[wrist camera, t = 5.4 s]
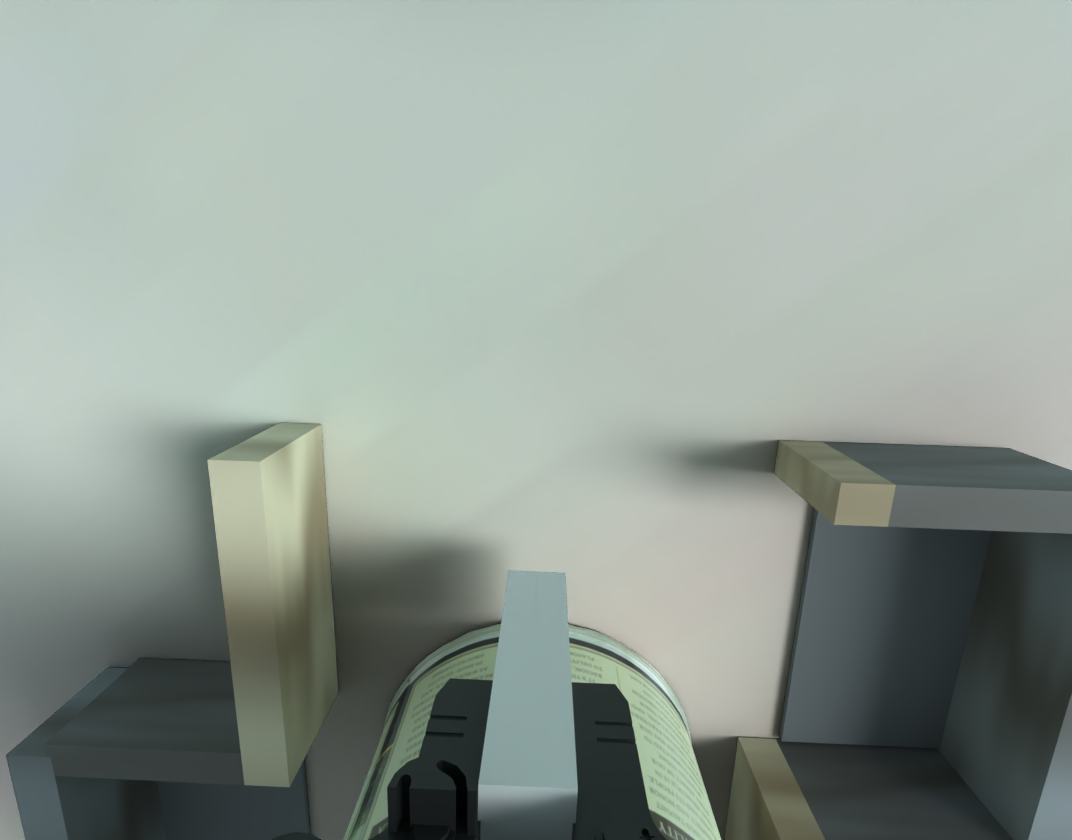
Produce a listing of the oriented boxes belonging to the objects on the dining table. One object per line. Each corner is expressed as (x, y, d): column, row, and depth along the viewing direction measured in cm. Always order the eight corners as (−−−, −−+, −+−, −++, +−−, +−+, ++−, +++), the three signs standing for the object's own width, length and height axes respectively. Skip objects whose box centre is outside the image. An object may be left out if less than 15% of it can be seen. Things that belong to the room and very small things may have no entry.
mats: (110, 453, 16) (105, 455, 16) (996, 485, 16) (1002, 487, 16) (179, 894, 20) (175, 901, 20) (891, 931, 20) (894, 938, 20)
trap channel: (63, 415, 16) (-66, 449, 13) (1049, 449, 16) (1186, 495, 12) (168, 1014, 22) (97, 1148, 18) (894, 1054, 21) (959, 1200, 18)
